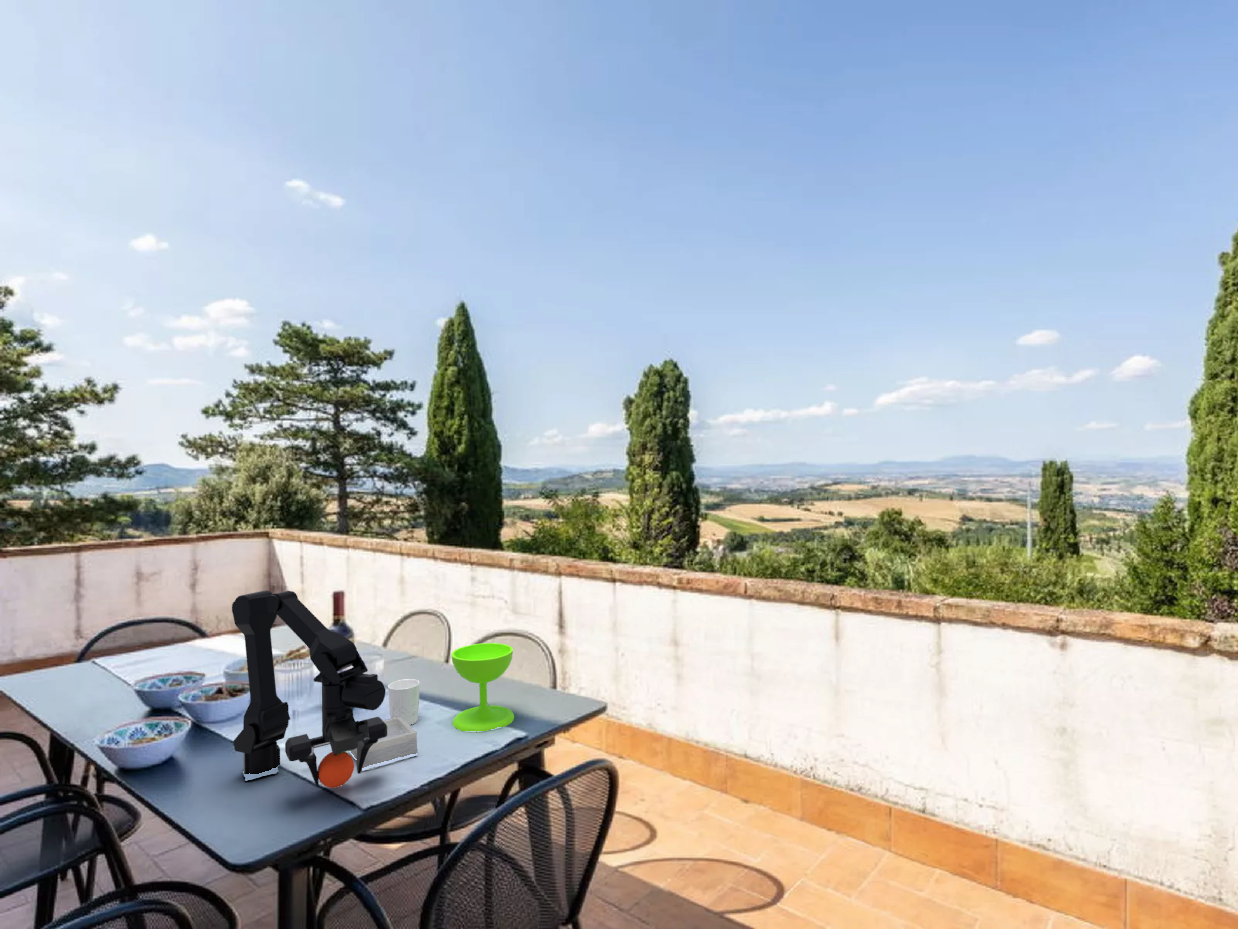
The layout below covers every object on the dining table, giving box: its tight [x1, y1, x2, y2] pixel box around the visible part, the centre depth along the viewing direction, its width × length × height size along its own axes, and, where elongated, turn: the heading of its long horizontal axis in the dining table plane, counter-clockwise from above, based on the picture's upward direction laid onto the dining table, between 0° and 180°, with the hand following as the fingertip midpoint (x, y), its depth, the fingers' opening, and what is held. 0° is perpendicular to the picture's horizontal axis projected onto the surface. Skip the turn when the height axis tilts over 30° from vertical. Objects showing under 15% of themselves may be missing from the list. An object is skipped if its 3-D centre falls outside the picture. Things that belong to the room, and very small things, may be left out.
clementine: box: [317, 750, 357, 789], centre depth 129 cm, size 8×7×7 cm
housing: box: [351, 716, 418, 768], centre depth 145 cm, size 12×12×6 cm
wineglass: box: [450, 642, 515, 733], centre depth 164 cm, size 16×16×18 cm
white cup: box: [387, 678, 421, 726], centre depth 164 cm, size 8×8×10 cm
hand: (338, 779), depth 129 cm, fingers closed on clementine, 8 cm apart
